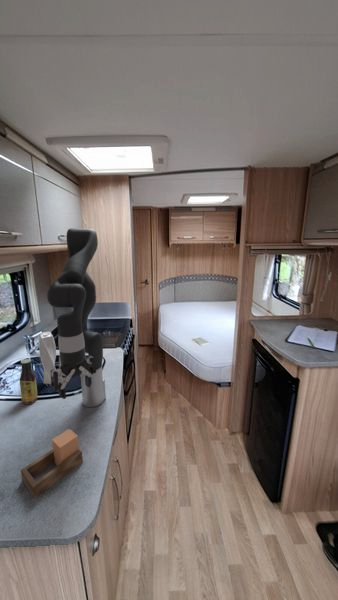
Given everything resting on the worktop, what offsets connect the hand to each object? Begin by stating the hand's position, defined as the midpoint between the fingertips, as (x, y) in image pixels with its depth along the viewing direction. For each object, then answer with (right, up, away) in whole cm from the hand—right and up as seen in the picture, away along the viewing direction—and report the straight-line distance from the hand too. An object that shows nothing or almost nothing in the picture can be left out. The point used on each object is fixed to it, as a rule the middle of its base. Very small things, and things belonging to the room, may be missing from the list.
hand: (76, 391), depth 81 cm
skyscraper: (-30, -12, +46) cm, 56 cm away
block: (-3, -23, 0) cm, 23 cm away
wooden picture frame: (-5, -24, -3) cm, 24 cm away
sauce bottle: (-32, -16, +30) cm, 47 cm away
